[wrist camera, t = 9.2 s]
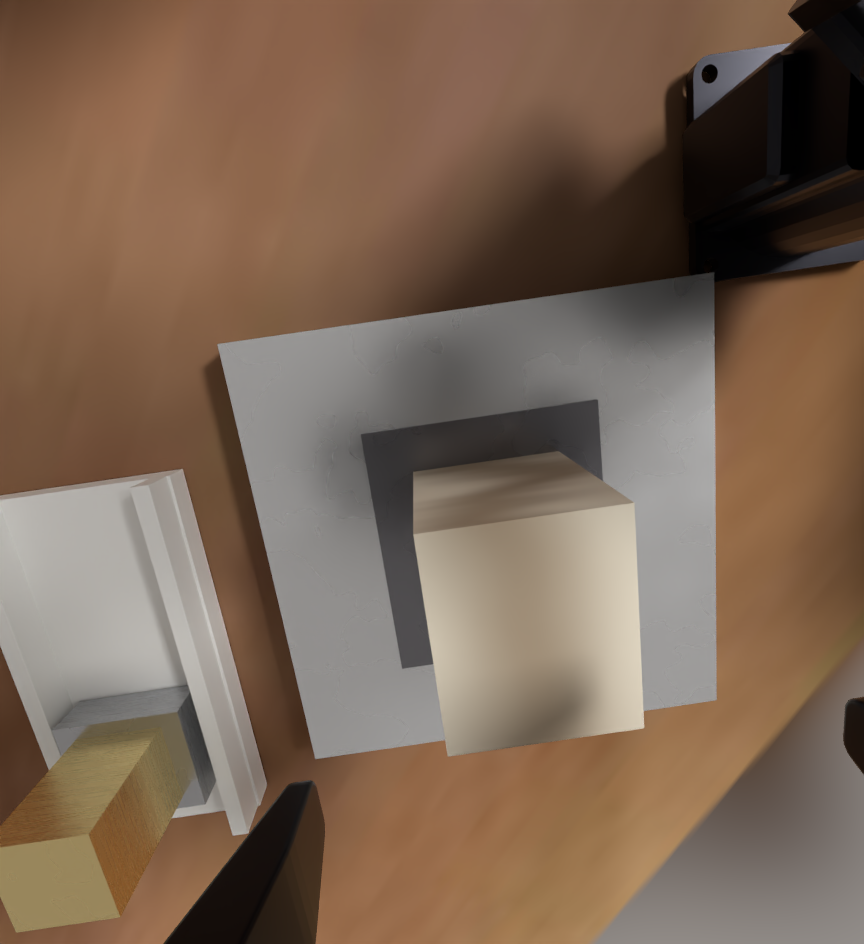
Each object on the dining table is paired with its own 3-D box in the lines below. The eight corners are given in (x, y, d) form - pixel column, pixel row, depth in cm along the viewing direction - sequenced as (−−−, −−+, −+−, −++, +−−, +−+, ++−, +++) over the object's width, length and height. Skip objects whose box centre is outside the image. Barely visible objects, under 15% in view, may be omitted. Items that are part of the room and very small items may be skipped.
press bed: (693, 277, 17) (716, 271, 16) (699, 680, 21) (717, 701, 20) (230, 344, 17) (216, 343, 16) (320, 736, 21) (314, 761, 20)
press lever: (195, 684, 19) (108, 816, 13) (220, 771, 20) (149, 926, 14) (79, 701, 19) (-53, 839, 13) (110, 787, 20) (-2, 948, 14)
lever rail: (182, 468, 18) (151, 484, 16) (267, 784, 21) (250, 833, 19) (1, 495, 18) (-55, 514, 16) (113, 807, 21) (80, 857, 19)
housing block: (558, 451, 17) (634, 502, 11) (571, 609, 18) (643, 727, 13) (413, 471, 17) (413, 534, 11) (436, 628, 18) (447, 756, 13)
